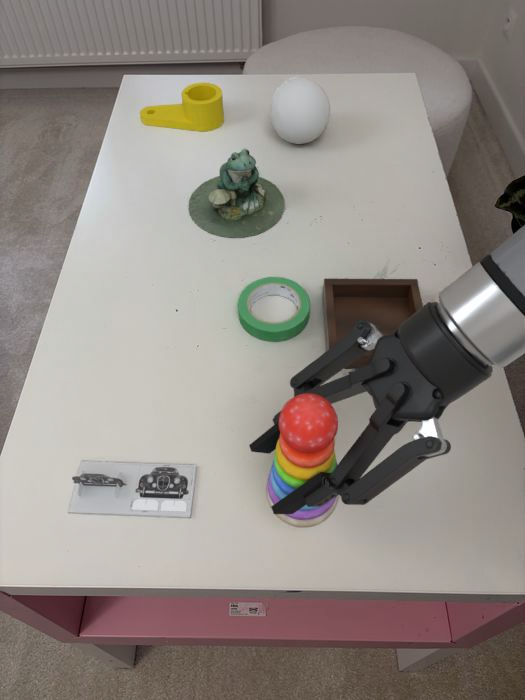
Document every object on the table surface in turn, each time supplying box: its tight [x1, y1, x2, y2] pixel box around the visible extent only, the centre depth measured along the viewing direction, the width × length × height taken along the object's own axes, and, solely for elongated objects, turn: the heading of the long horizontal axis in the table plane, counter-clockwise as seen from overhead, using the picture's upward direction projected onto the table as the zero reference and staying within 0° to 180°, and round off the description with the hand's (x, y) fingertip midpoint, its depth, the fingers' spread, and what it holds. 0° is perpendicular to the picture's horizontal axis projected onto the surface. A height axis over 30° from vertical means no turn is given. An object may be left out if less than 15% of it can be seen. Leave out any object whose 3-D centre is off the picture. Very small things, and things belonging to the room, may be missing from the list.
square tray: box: [321, 278, 424, 370], centre depth 78 cm, size 14×14×4 cm
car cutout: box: [67, 460, 198, 519], centre depth 63 cm, size 15×7×4 cm, turn 88°
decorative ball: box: [269, 76, 331, 145], centre depth 103 cm, size 12×12×12 cm
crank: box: [139, 82, 225, 132], centre depth 110 cm, size 18×8×6 cm, turn 87°
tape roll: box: [237, 276, 311, 342], centre depth 80 cm, size 11×11×3 cm
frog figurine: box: [188, 147, 286, 239], centre depth 92 cm, size 18×18×12 cm
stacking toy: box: [265, 393, 340, 529], centre depth 50 cm, size 8×8×19 cm
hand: (270, 478), depth 51 cm, fingers closed on stacking toy, 6 cm apart
